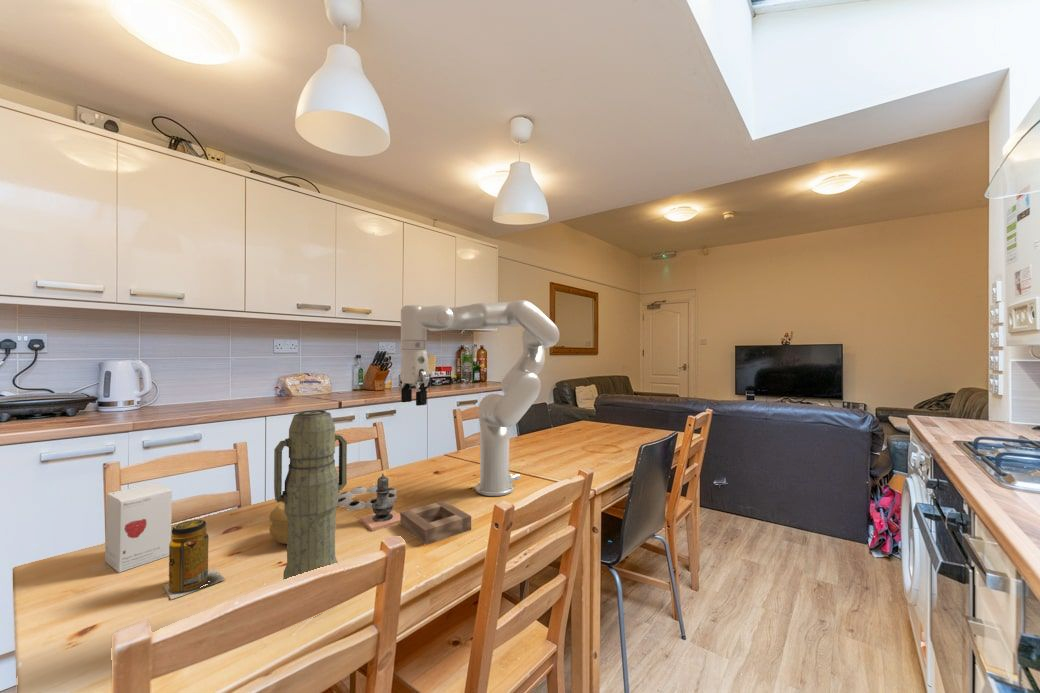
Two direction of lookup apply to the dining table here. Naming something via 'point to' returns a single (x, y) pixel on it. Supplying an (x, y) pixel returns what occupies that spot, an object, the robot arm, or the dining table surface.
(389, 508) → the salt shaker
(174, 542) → the condiment
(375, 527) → the terracotta tile
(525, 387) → the robot arm
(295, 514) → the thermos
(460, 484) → the dining table surface
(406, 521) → the brown square wooden frame
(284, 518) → the pot
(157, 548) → the supplement box
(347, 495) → the paint palette
